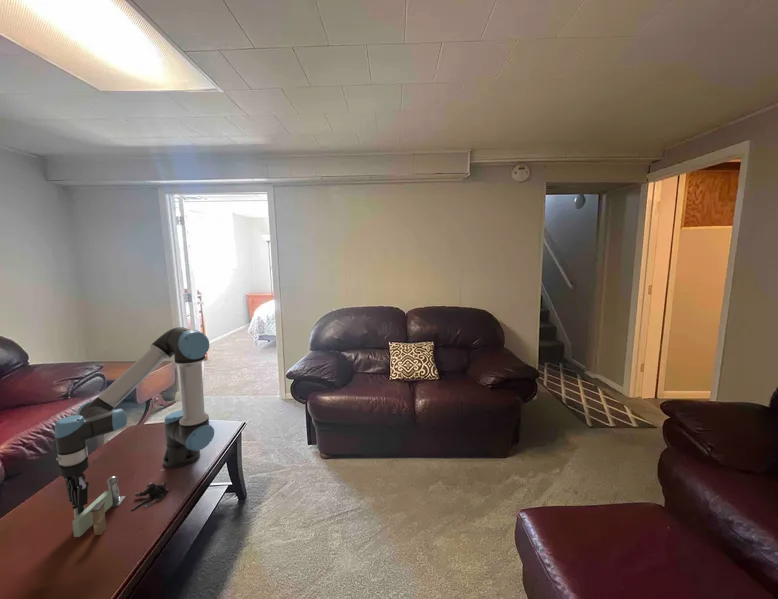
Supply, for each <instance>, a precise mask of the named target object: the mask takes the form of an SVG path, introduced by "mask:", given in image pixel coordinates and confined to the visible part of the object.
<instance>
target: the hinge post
mask: <svg viewBox="0 0 778 599" xmlns="http://www.w3.org/2000/svg"><path fill="white" fill-rule="evenodd" d="M106 483H107V486H108V491H111V493H112V502H113V505H112V506H111V507H110V508H116V507H120V505H121V504H122V503H123V501H124V500H126V495H122V496H120V488H119V477H118V476H116V475H114V476H110V477H109V478H108V479H107V481H106Z"/></svg>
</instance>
